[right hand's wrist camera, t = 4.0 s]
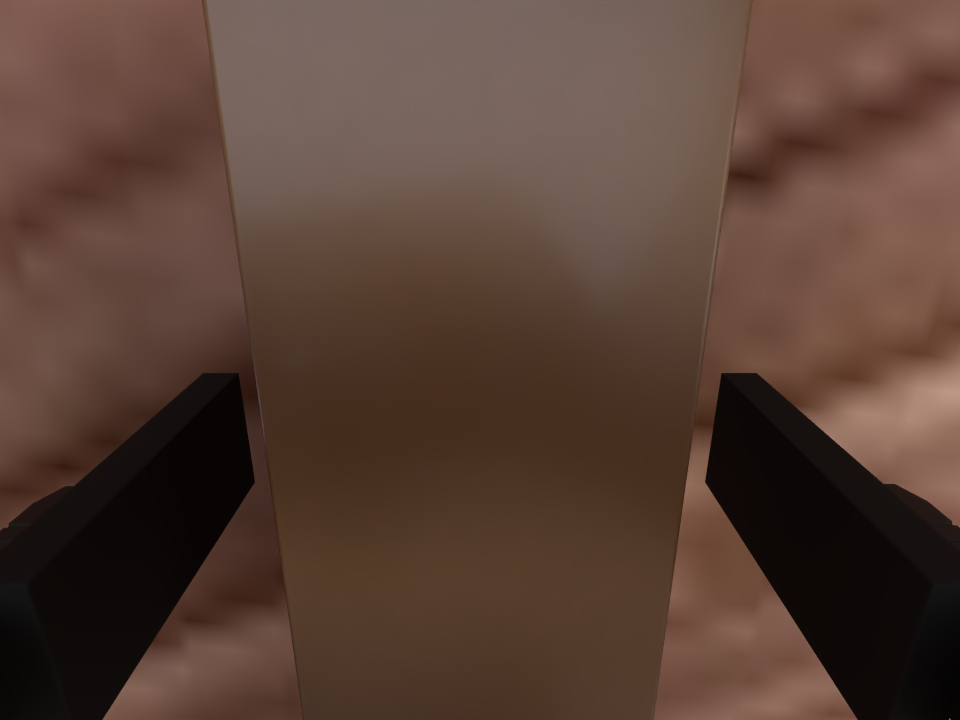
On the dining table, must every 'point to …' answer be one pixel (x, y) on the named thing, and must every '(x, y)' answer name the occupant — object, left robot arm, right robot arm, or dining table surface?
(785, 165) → the dining table surface
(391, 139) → the bar
